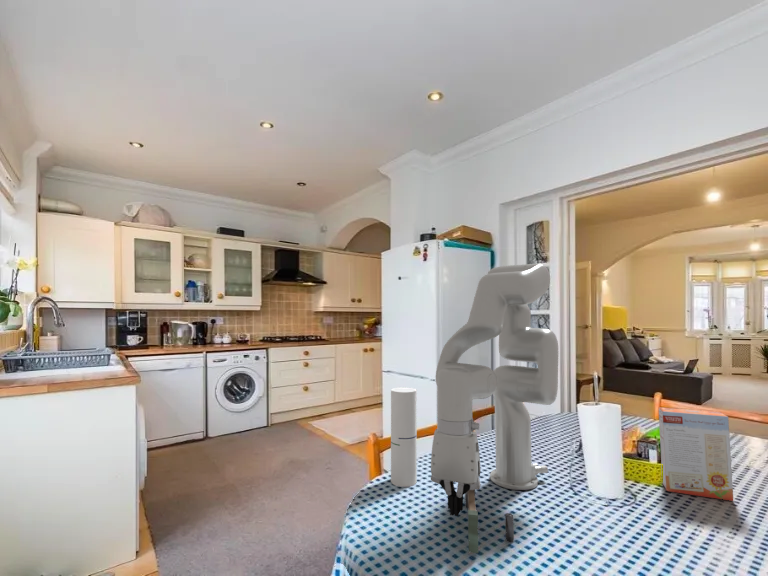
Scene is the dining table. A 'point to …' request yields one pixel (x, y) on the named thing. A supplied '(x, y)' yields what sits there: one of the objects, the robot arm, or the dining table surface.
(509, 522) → the post
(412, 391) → the cylindrical container
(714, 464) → the cracker box
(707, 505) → the dining table surface
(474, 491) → the hinge post
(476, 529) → the wooden plank on edge
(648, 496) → the dining table surface
